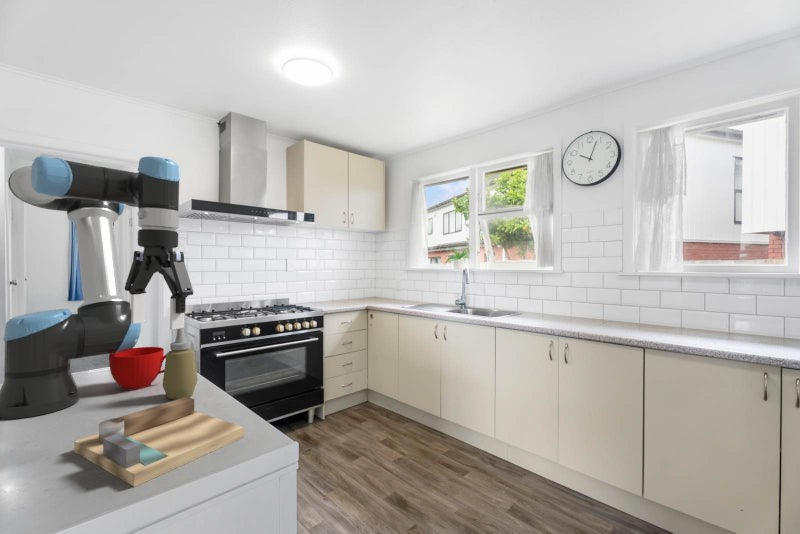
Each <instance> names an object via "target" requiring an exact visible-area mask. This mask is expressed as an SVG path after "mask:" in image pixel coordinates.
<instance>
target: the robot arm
mask: <svg viewBox="0 0 800 534" xmlns="http://www.w3.org/2000/svg"><path fill="white" fill-rule="evenodd" d="M179 167H180V166H179V164H178V163H177V162H176V161H174V160H172V159H169V158H165V157H161V156H143V157H141V158H139V161H138V167H137V171H138V172H134V171H128V170H122V169H119V168H117V169H116V168H111V167H106V166H98V165H93V164H87V163H83V162H77V161H72V160H68V159H63V158H59V157H48V156H47V157H46V156H37V157H35V158H34V160H33V162H32V165H27V166H23V167H20V168H17V169H15V170H14V171H13V172H11V174H10V175H9V178H8V181H7V182H8V184H7V185H8V188H9V190H10V192H11V193H12V194H13V196H15V198H17V199H18V200H20V201H21V202H24V203H25V204H28V205H31V206H33V207H36V208H39V209H45V210H51V211H59V212H66V215H67V216H66V217H67V219H68V221H70V222H72V223H73V224H75V233H76V242H77V249H78V250H77V251H78V260H79V261H78V262H79V270H80V277H81V278H80V281H81V287H82V289H81V290H82V297H83V302H82V303H81V304H80V305H79V306H78V307H77V309H76V310H77V311H76V312H77V313H73V312H72V311H71V310H70V309H69V308H58V309H47V310H41V311H35V312H29V313H25V314H21V315H17V316H14V317H12V318H10V319H8V320H7V321H6V323H5V325H4V326H5V327H4V337H2V338H3V341H4V367H3V368H4V375H3V376H4V378H3V379H4V380H3V383H2V385H1V386H0V387H1V388H0V419H1V420H14V419H23V418H30V417H31V418H32V417H37V416H41V415H46V414H52V413H54V412H57V411H58V412H59V411H60V410H64V409H67V408H69V407H72V406H74V405H75V404H77V403H78V402H79V401H80V390H79V388H78V385H77V383H76V381H75V378H74V376H73V374H72V371H71V360H77V359H83V358H91V357H96V356H104V355H110V354H111V353H112V354H115V353H117V352H122V351H127V350H130V349H132V348H135V346H136V345H137V343H138V341H139V339H140V335H141V332H142V331H141V329H142V323H146V321H147V320H146V319H147V318H146V317H147V291H146V288H147V287H148V285H149V283H150V282H151V279H153V276H154V274H155V273H157V272H158V273H159V274H160V275H162V277H163V280H164V281H165V283H166V285H167V287H168V289H169V291H170V293H171V296H170V299H169V301H170V302H169V304H170V305H169V330H176V329H177V330H178V329H185V315H186V305H187V304H186V298H188V297H189V296H193V295H194V289H193V286H192V282H191V279H190V276H189V272H188V269H187V266H186V263H185V254H184V251H174V249H176V248H178V247H179V232H178V231H177V230H178V229H179V227H180V225H179V224H180V223H179V222H180V216H179V215H180V214H179V213H180V212H179V209H180V208H179V205H180V204H179V203H180V201H179V200H180V181H181V178H180V169H179ZM125 205H126V206H128V207H132V208H133V207H134V208H138V210H137V211H138V212H137V219H138V220H137V222H138V223H137V226H138V227H139V228H141V229H139V230H137V246H138V247H141V248H143V250H134V251H133V257H132V263H131V267H130V269H129V272H128V275H127V279H126V282H125V285H124V290H125V292H129V294H130V295H131V301H130V300H127V299H125V298H124V297H123V292H122V289H123V288H122V283H121V276H120V269H119V261H118V251H117V243H116V238H115V231H114V223H116V221H118V220H119V216H121V215H122V214H123V213H124V210H125Z"/></svg>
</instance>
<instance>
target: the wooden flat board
mask: <svg viewBox="0 0 800 534" xmlns="http://www.w3.org/2000/svg"><path fill="white" fill-rule="evenodd" d="M244 437H245V427H244V426H241V425H238V424H235V423H232V422H229V421H226V420H223V419H220V418H217V417H214V416H211V415H208V414H205V413H201V412H199V411H196V410H194V413H192V414H189V415H186V416H184V417H181V418H178V419H175V420H172V421H169V422H166V423H163V424H160V425H157V426H154V427H152V428H149V429H146V430H143V431H140V432H137V433H134V434H131V435H128V436H125V437H122V436H120V435H118V434H115V435H112V436H109V437H106V438H103V443H101V442H99V432H97V433H95V434H92V435H89V436H86V437H82V438H80V439H77V440H74V442H73V443H74V445H73V446H74V448H73V451H74V453H75V454H77V455H79V456H80V457H82V458H84V459H85V460H87V461H89V462H91V463H93V464H94V465H96V466H98V467H99V468H102V470H105V471H106V472H108V473H110V474H111V475H113V476H115V477H116V478H118V479H120V480H122V481H124V483H126V484H129V485H130V486H132V487H133V488H135V487H137V486H139V485H142V484H144V483H147V482H149V481H151V480H154V479H155V478H157V477H160V476H162V475H163V474H164V475H165V474H166V473H168V472H170V471H173V470H174V469H175V470H176V469H177V468H179V467H181V466H183V465H186V464H188V463H190V462H192V461H195V460H197V459H199V458H202V457H203V456H204V457H205V455H208V454H211V453H213V452H214V451H217V450H219V449H221V448H223V447H225V446H227V445H230V444H232V443H234V442H236V441H238V440H239V441H240V440H241V439H243V438H244Z"/></svg>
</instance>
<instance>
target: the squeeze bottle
mask: <svg viewBox="0 0 800 534" xmlns="http://www.w3.org/2000/svg"><path fill="white" fill-rule="evenodd" d="M191 344H192V343H191V341H188V340H187V339H186V334H185V329H184V328H179V329H177V333H176V338H175V340H174V342H171V343H170V345H169V346H170V350H169V351H168V352H167V353H166V354H165V355H166V358H165V360H164V361H165V363H164V369H163V370H164V373H163V376H162V377H163V378H162V388H163V389H164V392H165V395H166V398H167V399H168V400H178V399H181V398H185V397H188V398H191V397H192V396H193V395H194V392H195V389H196V386H197V382H198V381H199V380H198V371H197V363H196V355H195V354H196V353H195V351H194V349H192V348H191Z"/></svg>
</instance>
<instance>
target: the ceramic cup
mask: <svg viewBox="0 0 800 534" xmlns="http://www.w3.org/2000/svg"><path fill="white" fill-rule="evenodd" d="M164 351H165V350H164V348H163V347H159V346H142V347H139V346H138V347H133V348H132V349H130V350H127V351H122V352H117V353H115V354H112V353H111V354H108V363H109V370H110V375H111V376H112V378H113V380H114V382H115V383H116V384H117V385H119V386H120V387H121V388H122V389H123V390H126V389H133V390H139V388H140V389H143V388H144V389H145V388H147V387H149V386H151V385H152V383H153V382H154V381H156V379H157V377H158V376H159V375H160V374H164V369H162V367H163V363H164V361H165V360H166V354H165V353H164Z"/></svg>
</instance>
